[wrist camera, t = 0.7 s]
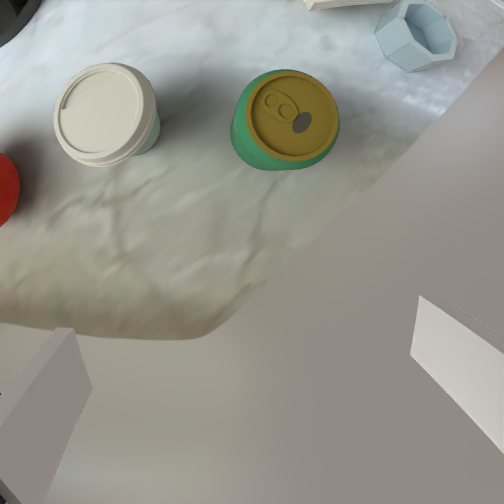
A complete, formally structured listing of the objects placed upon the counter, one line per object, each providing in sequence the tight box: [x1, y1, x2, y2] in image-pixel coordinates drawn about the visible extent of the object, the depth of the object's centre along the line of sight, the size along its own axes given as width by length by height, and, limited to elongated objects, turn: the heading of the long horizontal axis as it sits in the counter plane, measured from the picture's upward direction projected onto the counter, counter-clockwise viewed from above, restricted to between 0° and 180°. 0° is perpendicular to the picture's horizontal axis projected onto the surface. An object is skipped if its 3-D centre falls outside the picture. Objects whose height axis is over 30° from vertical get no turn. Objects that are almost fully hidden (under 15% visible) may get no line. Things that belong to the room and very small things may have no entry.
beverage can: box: [231, 69, 339, 171], centre depth 27 cm, size 8×8×12 cm
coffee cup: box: [54, 63, 161, 167], centre depth 25 cm, size 8×8×12 cm
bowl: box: [375, 0, 458, 72], centre depth 28 cm, size 8×8×6 cm
